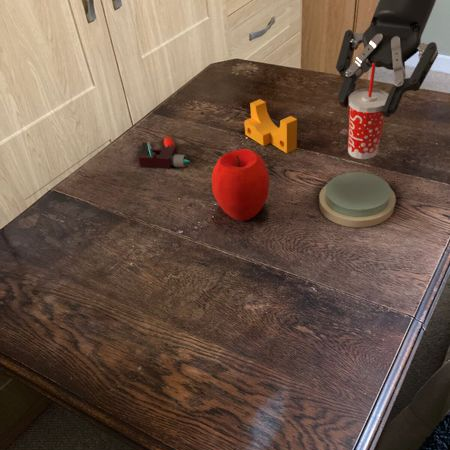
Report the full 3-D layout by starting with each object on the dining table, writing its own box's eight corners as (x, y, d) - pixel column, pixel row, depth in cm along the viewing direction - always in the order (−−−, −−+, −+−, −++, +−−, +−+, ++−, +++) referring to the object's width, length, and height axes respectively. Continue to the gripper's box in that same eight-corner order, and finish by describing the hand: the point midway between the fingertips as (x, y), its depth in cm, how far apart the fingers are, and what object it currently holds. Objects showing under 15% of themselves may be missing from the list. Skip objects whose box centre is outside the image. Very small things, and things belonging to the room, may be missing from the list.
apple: (236, 191, 93) (231, 132, 84) (281, 206, 89) (280, 145, 80) (205, 220, 88) (195, 161, 79) (251, 238, 84) (246, 177, 75)
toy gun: (189, 171, 99) (185, 149, 96) (133, 169, 102) (128, 147, 98) (200, 145, 106) (197, 124, 102) (148, 144, 108) (143, 123, 105)
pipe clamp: (245, 134, 107) (243, 106, 102) (261, 127, 108) (260, 99, 104) (280, 156, 100) (279, 127, 95) (296, 148, 101) (297, 119, 97)
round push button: (406, 195, 88) (409, 181, 85) (374, 236, 81) (377, 222, 79) (339, 175, 93) (341, 161, 91) (305, 213, 87) (305, 199, 85)
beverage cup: (338, 144, 82) (346, 57, 71) (375, 138, 82) (388, 51, 71) (349, 164, 78) (359, 75, 67) (387, 158, 78) (403, 68, 67)
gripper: (462, 14, 70) (414, 129, 73) (368, 3, 77) (327, 109, 80) (459, -16, 64) (406, 111, 67) (356, -26, 70) (312, 91, 73)
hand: (363, 109), depth 73 cm, fingers closed on beverage cup, 6 cm apart
